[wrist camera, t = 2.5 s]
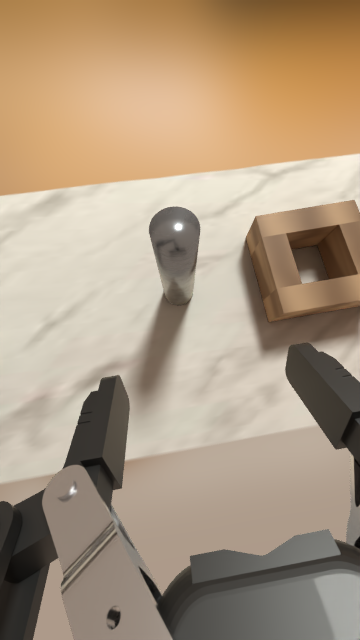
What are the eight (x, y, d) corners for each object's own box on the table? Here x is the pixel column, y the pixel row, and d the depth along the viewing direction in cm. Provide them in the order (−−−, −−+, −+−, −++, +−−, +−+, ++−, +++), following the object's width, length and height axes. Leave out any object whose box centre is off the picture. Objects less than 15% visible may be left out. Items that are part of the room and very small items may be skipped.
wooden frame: (268, 322, 26) (283, 313, 22) (245, 237, 28) (255, 216, 24) (361, 305, 26) (393, 294, 22) (330, 223, 28) (354, 199, 24)
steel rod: (166, 307, 26) (152, 255, 14) (162, 280, 27) (145, 211, 15) (195, 302, 26) (204, 247, 14) (190, 275, 27) (194, 203, 15)
